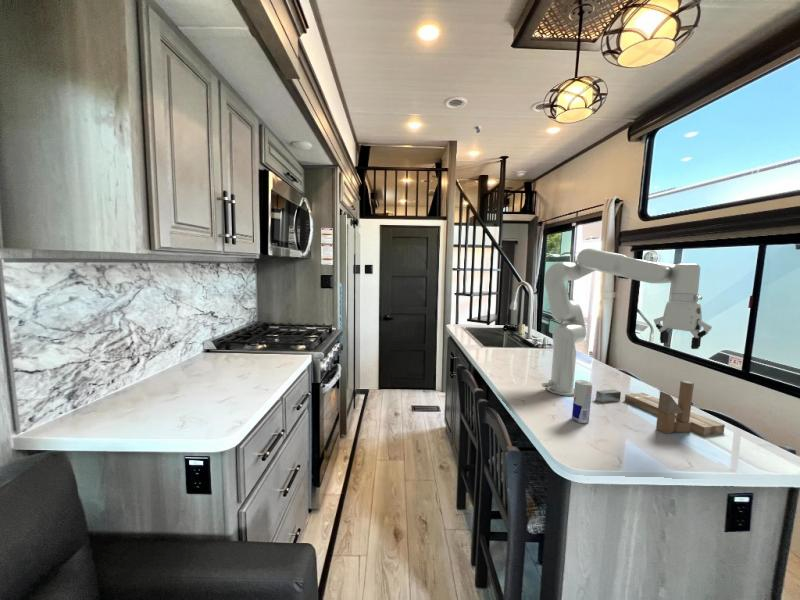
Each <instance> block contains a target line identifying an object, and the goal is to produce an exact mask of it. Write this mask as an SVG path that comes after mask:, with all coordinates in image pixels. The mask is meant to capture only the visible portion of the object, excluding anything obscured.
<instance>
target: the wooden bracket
mask: <svg viewBox="0 0 800 600" xmlns="http://www.w3.org/2000/svg"><path fill="white" fill-rule="evenodd" d="M694 386H695V383H694V382H692V381H689V380H680V384H679V390H678V399H677V402H676V401H675V399H674V398H673V396H671V394H670V393H669V394H668V393H666V392H664V391H662V390H660V391H659V398H658V399H659V406H658V415H656V417H657V418H656V425H655V426H656V427H655V429H656V430H658V432H659V431H660V432H661V433H663V434H673V433H677V434H678V433H691V432H692V430H691V422H689V419H690V411H691V410H692V403H693V395H694V394H693V393H694ZM691 412H692V411H691ZM675 414H676V419H675Z"/></svg>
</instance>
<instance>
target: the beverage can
mask: <svg viewBox="0 0 800 600" xmlns="http://www.w3.org/2000/svg"><path fill="white" fill-rule="evenodd" d="M592 391H593V382H591V381H588V380H584V379H576V380H575V381H574V396H573V399H572V400H573V401H572V413H571V419H572V420H573V421H575V422H576V423H580V424H588V423H589V422H590V412H591V403H592Z"/></svg>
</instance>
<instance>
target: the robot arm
mask: <svg viewBox="0 0 800 600" xmlns="http://www.w3.org/2000/svg"><path fill="white" fill-rule="evenodd" d="M596 271H597V272H602V273H606V274H608V275H609V274H610V275H614V276H617V277H622V278H627V279H631V280H633V281H634V280H635V281H638V282H643V283H646V284H647V283H648V284H670V290H669V291H670V292H669V299H668V300H667V302H666V305H665V307H664V311H663V316H661V317H657V318H655V319H653V322H654V325H655V328H657V330H658V333H659V340H660V343H661V344H667V343H668V341H669V332H668V331H669V330H670V329H671V330H677V331H685V332H690V333H691V335H693V337H692V338H691V344H690V348H691V349H692V350H698V349H699V348H700V346H701V341H702V338H703V337H705V336H706V335H708V333H709V332H710V331H711V330H712V329H713V326H712V325H710V324H708V323H707V322H705V321H702V319H703V318H702V317H703V315H702V306H701V303H700V302H698V301H701V300H703V296H700V295H699V287H700V285H699V284H700V277H701V266H700V265H699V264H698V263H676V264H671V263H662V262H653V261H647V260H643V259H638V258H632V257H629V256H627V255H625V254H621V253H617V252H611V251H605V250H600V249H596V248H585V249H582V250H581V251H580V252H579V253H578V255H577V257H576V260H574V261H570V262H569V261H559V262H556V263H553V264H551V265H550V266H549V267H548V268H547V270H546V271H545V274H544V280H543V281H544V286H545V290H546V294H547V300H548V304H549V308H550V309H549V310H550V315H551V317H552V319H554V320H555V321H557V322H563V324H562V323H561V324H559V325H558V326H556V327H555V328H554V329H553V331H552V344H553V345H552V349H553V350H552V363H551V365H552V366H551V376H550V379H549V380H548V382H543V383H541V387H542V388H546V389H547V391H549V392H551V393H553V394H555V395H559V396H564V397H571V396H572V397H574V389H575V387H574V386H575V373H576V360H577V348H576V344H577V343H580V342H583V341H584V340H585V339H586V336H587V329H586V324H585V319H584V314H583V310H582V308H581V306H580V304H578V302H576V301H574V300H573V299H570V297H569V293H568V289H567V287H566V285H565V283H564V282H565V281H576V280H579V279H581V278H583V277H585V276H587V275H590V274H592V273H593V272H596ZM661 322H662V324H661ZM702 328H703V329H702Z"/></svg>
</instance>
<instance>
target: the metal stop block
mask: <svg viewBox="0 0 800 600" xmlns="http://www.w3.org/2000/svg"><path fill="white" fill-rule="evenodd" d="M621 394H622V391H619V390H618V389H606V390H605V389H603V390H596V392H595V396H596V397H595V400H596V401H598V402H599V403H610V402H611V403H612V402H620V401H621Z"/></svg>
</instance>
